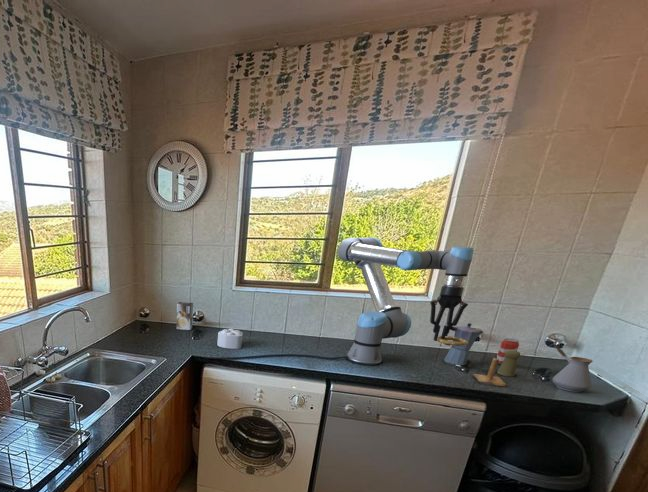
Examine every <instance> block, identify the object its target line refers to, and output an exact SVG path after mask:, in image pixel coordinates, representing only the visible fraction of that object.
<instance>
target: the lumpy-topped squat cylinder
mask: <svg viewBox="0 0 648 492" xmlns="http://www.w3.org/2000/svg"><path fill="white" fill-rule="evenodd" d="M243 333H244V332H243V331H240V330H239V329H234V328H224V329H222V330H220V331H218V333H217V344H216V345H217V346H218V347H220V348H224V349H228V350H229V349H231V350H240V349H242V347H243V346H242V345H243V344H242V343H243Z"/></svg>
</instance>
